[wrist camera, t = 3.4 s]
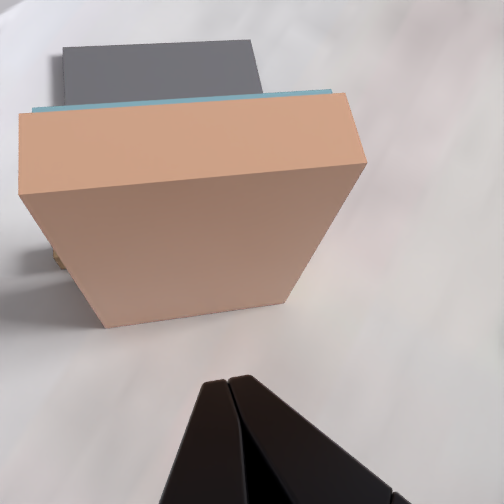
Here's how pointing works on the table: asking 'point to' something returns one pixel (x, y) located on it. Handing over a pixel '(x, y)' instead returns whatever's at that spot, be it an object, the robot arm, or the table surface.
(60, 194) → the tile
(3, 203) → the table surface
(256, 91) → the mat
